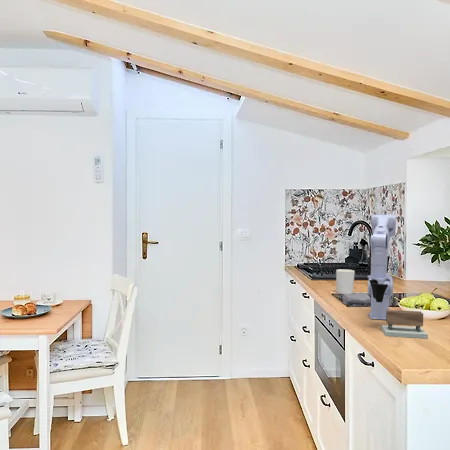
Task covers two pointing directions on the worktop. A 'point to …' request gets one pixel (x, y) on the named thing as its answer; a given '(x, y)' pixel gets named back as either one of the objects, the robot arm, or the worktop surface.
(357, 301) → the stone block
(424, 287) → the worktop surface
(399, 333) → the peg stand
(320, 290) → the worktop surface
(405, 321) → the walnut plank
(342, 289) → the candle holder
